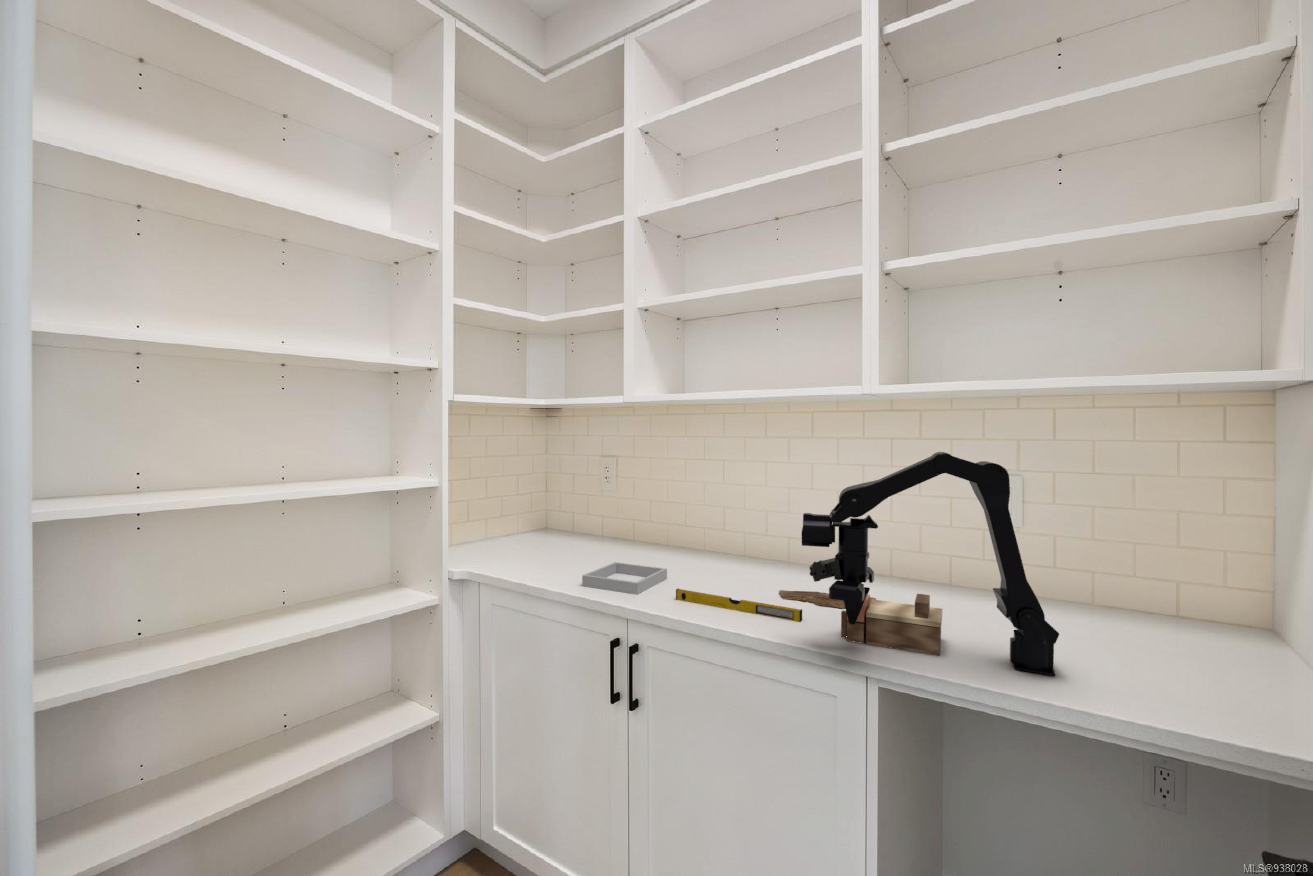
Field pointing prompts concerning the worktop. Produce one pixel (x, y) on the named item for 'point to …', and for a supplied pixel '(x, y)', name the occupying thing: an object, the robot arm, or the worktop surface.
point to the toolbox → (893, 634)
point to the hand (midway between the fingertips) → (852, 623)
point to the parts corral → (599, 581)
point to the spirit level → (740, 605)
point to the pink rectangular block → (863, 610)
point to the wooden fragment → (812, 598)
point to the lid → (907, 611)
